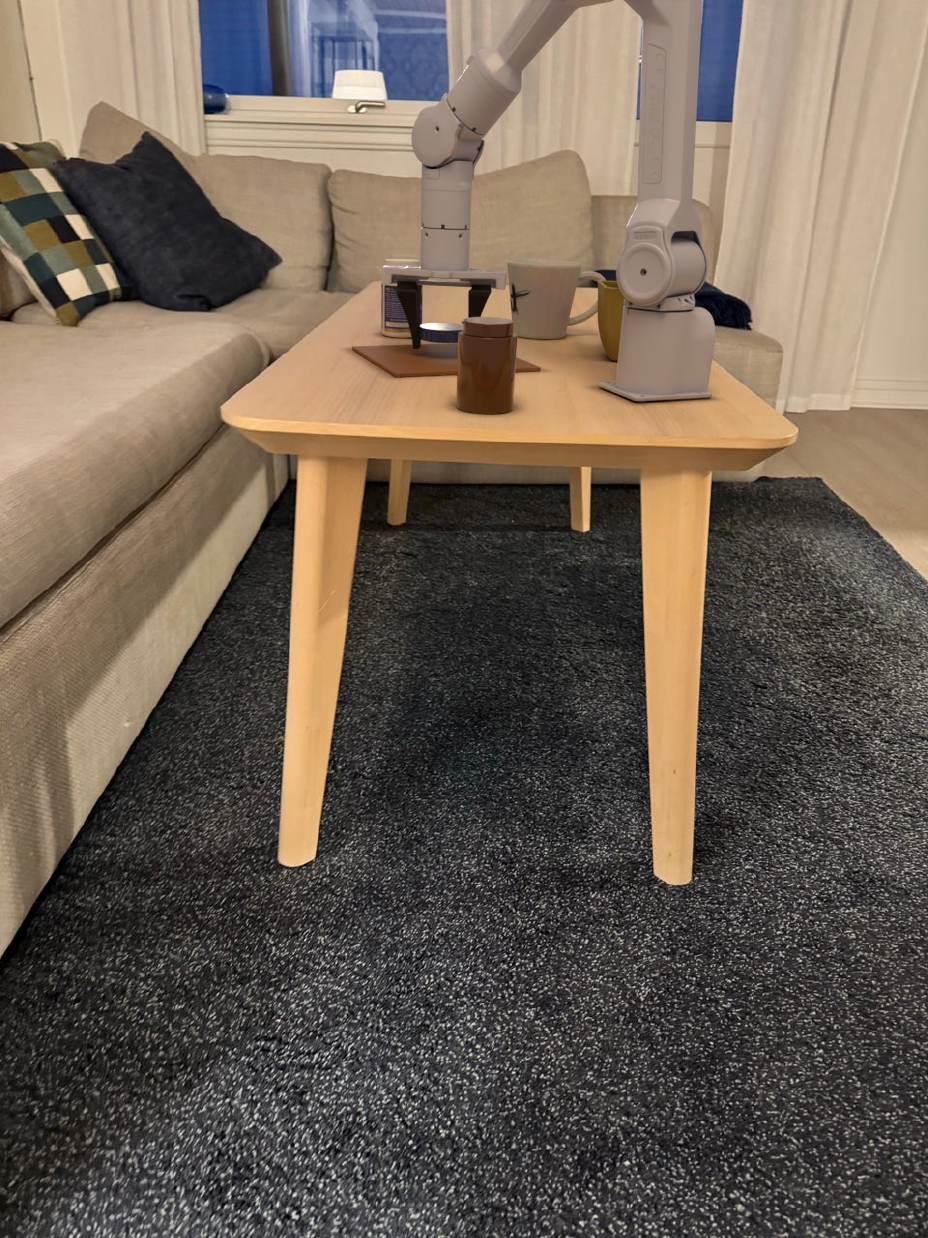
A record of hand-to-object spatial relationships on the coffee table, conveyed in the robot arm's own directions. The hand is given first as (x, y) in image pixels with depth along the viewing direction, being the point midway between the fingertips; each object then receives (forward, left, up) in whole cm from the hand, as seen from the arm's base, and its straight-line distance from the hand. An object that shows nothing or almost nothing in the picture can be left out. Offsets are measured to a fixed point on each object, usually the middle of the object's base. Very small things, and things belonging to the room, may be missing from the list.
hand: (442, 349), depth 111 cm
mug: (-23, -15, -2) cm, 28 cm away
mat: (0, 0, -1) cm, 1 cm away
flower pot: (-24, +4, -2) cm, 24 cm away
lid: (0, 0, +2) cm, 2 cm away
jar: (+5, +25, -1) cm, 26 cm away
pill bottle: (-1, -19, -2) cm, 19 cm away
